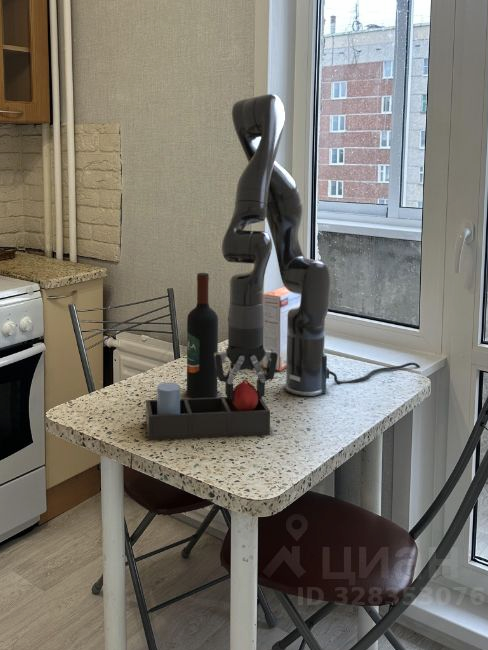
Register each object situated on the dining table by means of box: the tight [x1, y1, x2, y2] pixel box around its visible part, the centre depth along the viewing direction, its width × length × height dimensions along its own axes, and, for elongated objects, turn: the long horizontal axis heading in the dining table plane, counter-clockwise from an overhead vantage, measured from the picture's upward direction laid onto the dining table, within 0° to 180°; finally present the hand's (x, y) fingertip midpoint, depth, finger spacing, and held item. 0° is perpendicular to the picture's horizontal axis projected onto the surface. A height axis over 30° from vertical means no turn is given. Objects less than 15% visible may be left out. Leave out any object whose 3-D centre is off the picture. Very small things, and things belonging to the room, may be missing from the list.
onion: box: [232, 378, 259, 411], centre depth 146 cm, size 6×6×8 cm
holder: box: [145, 396, 271, 441], centre depth 145 cm, size 26×9×5 cm, turn 97°
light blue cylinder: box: [156, 382, 181, 415], centre depth 144 cm, size 5×5×9 cm
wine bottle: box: [186, 272, 219, 398], centre depth 164 cm, size 8×8×30 cm
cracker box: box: [262, 285, 301, 372], centre depth 188 cm, size 14×6×21 cm, turn 144°
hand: (245, 398), depth 146 cm, fingers closed on onion, 5 cm apart
